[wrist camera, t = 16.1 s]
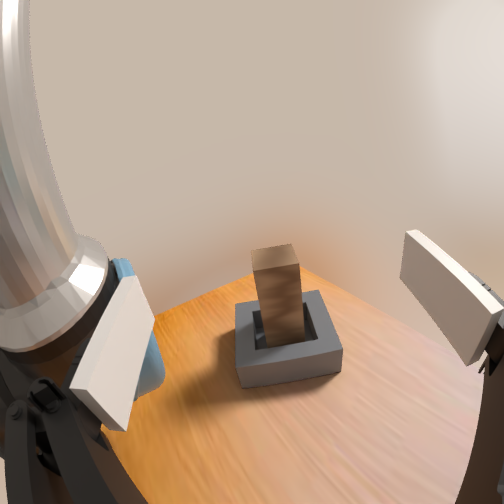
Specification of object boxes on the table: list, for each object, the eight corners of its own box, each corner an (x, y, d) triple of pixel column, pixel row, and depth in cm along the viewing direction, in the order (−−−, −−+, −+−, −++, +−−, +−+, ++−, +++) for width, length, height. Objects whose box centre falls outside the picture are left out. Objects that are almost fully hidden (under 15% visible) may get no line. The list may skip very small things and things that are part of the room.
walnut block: (269, 358, 36) (253, 270, 30) (266, 333, 41) (251, 250, 35) (305, 351, 36) (299, 263, 30) (299, 328, 41) (291, 243, 35)
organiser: (242, 388, 33) (235, 367, 32) (240, 325, 45) (235, 303, 43) (341, 371, 33) (342, 348, 31) (319, 311, 45) (318, 289, 43)
